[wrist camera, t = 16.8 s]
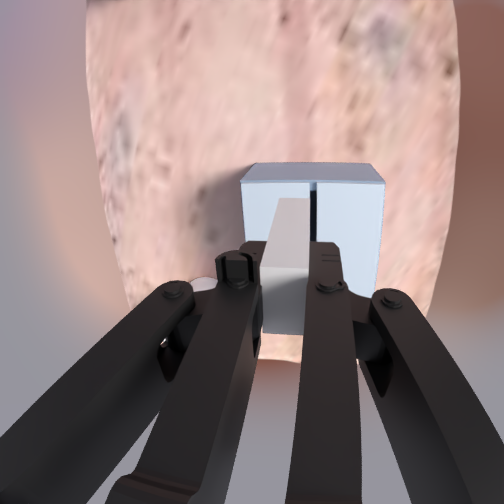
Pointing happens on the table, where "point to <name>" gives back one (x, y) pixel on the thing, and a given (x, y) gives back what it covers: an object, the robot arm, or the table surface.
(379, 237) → the flap right
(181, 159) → the table surface
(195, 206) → the table surface
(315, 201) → the box
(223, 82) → the table surface
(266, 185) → the flap left
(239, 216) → the table surface
